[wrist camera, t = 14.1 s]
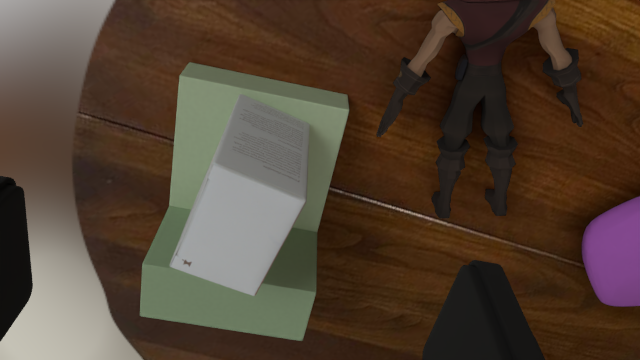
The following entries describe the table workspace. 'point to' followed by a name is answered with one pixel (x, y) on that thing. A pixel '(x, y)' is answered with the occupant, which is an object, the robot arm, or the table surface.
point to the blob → (614, 254)
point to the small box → (247, 198)
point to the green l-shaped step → (187, 176)
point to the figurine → (484, 84)
